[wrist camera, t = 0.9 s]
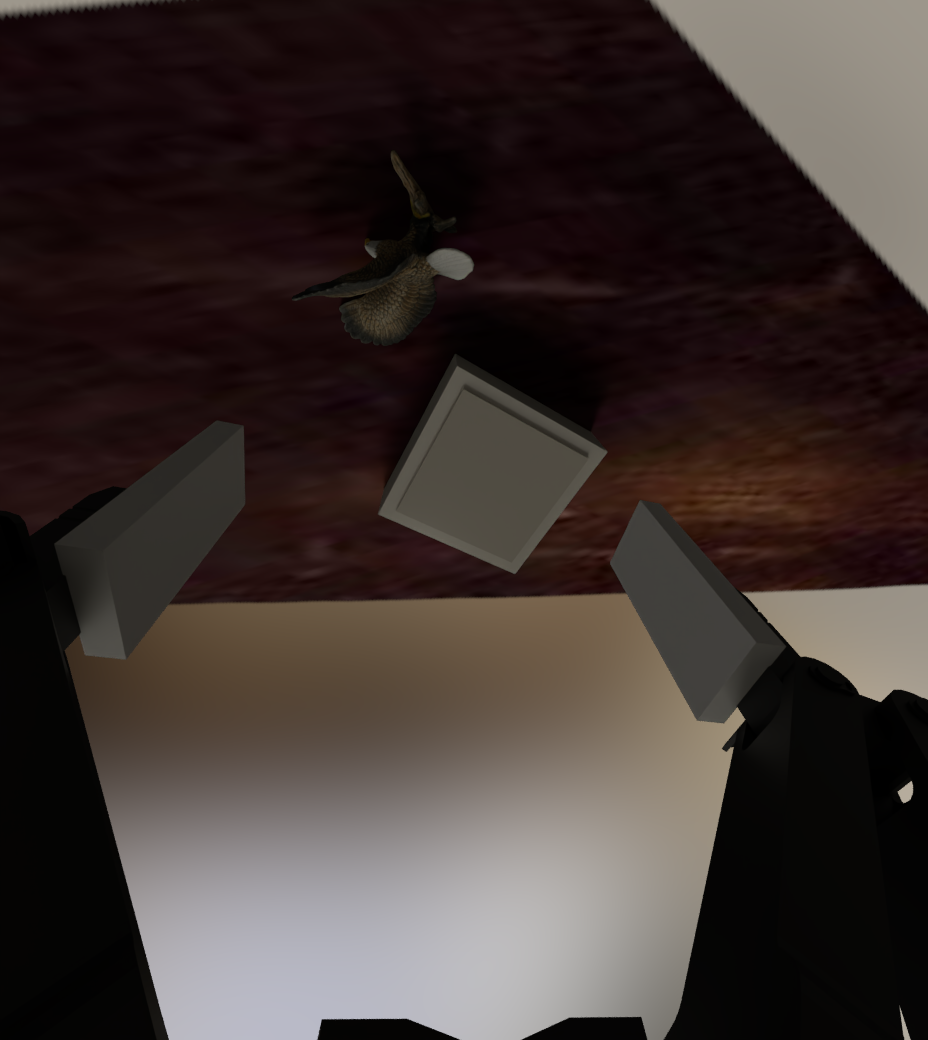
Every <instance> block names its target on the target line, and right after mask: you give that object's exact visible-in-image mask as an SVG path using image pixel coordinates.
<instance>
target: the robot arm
mask: <svg viewBox="0 0 928 1040" xmlns="http://www.w3.org/2000/svg"><path fill="white" fill-rule="evenodd" d="M244 505H245V474H244V428H243V426H242V425H237V424H232V423H226V422H221V421H216V422H214V423H213V424H212V425H210V426H209V427H208V428H206V429H205V430H204V431H202V432H201V433H200V434H198V435H197V436H196V437H194V438H193V439H192V440H191V441H189V442H188V443H187V444H185V445H184V446H183V447H181V448H180V449H179V450H177V451H176V452H175V453H173V454H172V455H171V456H169V457H168V458H167V459H165V460H164V461H163V462H162V463H160V464H159V465H158V466H156V467H155V468H154V469H152V470H151V471H150V472H148V473H147V474H146V475H144V476H143V477H142V478H140V479H139V480H138V481H137V482H135V483H134V484H133V485H131V486H130V487H129V488H127V489H126V488H120V487H114V486H113V487H110V488H107V489H105V490H102V491H99V492H96V493H93V494H91V495H89V496H87V497H86V498H84V499H83V500H81V501H80V502H79V503H77V504H76V505H74V506H73V509H68V510H67V511H66V512H64V513H63V514H61V515H60V516H59V519H54V520H53V521H51V522H50V523H48V524H47V525H45V526H44V527H43V528H41V529H40V530H38V531H37V532H35V533H34V534H33V535H31V536H30V537H29V533H28V530H27V527H26V524H25V522H24V520H23V519H22V518H21V517H20V516H19V515H16V514H13V513H10V512H7V511H0V1040H169V1038H168V1035H167V1032H166V1028H165V1025H164V1021H163V1017H162V1014H161V1010H160V1007H159V1003H158V999H157V996H156V992H155V988H154V984H153V980H152V976H151V973H150V969H149V965H148V962H147V958H146V954H145V950H144V946H143V943H142V939H141V935H140V931H139V928H138V924H137V920H136V916H135V912H134V909H133V905H132V901H131V898H130V894H129V890H128V886H127V882H126V879H125V875H124V871H123V867H122V864H121V860H120V856H119V852H118V848H117V845H116V841H115V837H114V834H113V830H112V826H111V822H110V818H109V814H108V811H107V807H106V803H105V799H104V796H103V792H102V788H101V784H100V781H99V777H98V773H97V769H96V765H95V762H94V758H93V754H92V750H91V747H90V743H89V739H88V735H87V732H86V728H85V724H84V720H83V717H82V713H81V709H80V705H79V702H78V698H77V694H76V690H75V687H74V683H73V679H72V675H71V671H70V667H69V664H68V660H67V657H66V654H65V649H66V648H67V647H68V646H69V645H70V644H71V643H72V642H73V641H74V639H75V638H76V637H77V636H78V635H80V639H81V643H82V646H83V649H84V653H85V655H89V656H98V657H108V658H117V659H127V658H128V656H129V655H130V654H131V653H132V651H133V650H134V649H135V647H136V646H137V645H138V643H139V642H140V641H141V639H142V638H143V637H144V636H145V634H146V633H147V632H148V630H149V629H150V628H151V626H152V625H153V624H154V623H155V621H156V620H157V619H158V617H159V616H160V615H161V613H162V612H163V611H164V609H165V608H166V607H167V606H168V604H169V603H170V602H171V600H172V599H173V598H174V596H175V595H176V594H177V593H178V591H179V590H180V589H181V587H182V586H183V585H184V583H185V582H186V581H187V579H188V578H189V577H190V576H191V574H192V573H193V572H194V570H195V569H196V568H197V566H198V565H199V564H200V562H201V561H202V560H203V559H204V557H205V556H206V555H207V553H208V552H209V551H210V549H211V548H212V547H213V546H214V544H215V543H216V542H217V540H218V539H219V538H220V536H221V535H222V534H223V532H224V531H225V530H226V529H227V527H228V526H229V525H230V523H231V522H232V521H233V519H234V518H235V517H236V516H237V514H238V513H239V512H240V510H241V509H242V508H243V506H244ZM610 564H611V566H612V568H613V570H614V571H615V573H616V575H617V577H618V579H619V580H620V582H621V584H622V586H623V588H624V589H625V591H626V593H627V595H628V597H629V599H630V600H631V602H632V604H633V606H634V608H635V609H636V611H637V613H638V615H639V616H640V618H641V620H642V622H643V624H644V626H645V627H646V629H647V631H648V633H649V634H650V636H651V638H652V640H653V642H654V644H655V645H656V647H657V649H658V651H659V653H660V654H661V656H662V658H663V660H664V662H665V663H666V665H667V667H668V669H669V671H670V672H671V674H672V676H673V678H674V680H675V682H676V683H677V685H678V687H679V689H680V690H681V692H682V694H683V696H684V698H685V700H686V701H687V703H688V705H689V707H690V709H691V710H692V712H693V714H694V716H695V718H696V719H697V720H698V721H707V722H717V723H724V722H725V721H726V720H727V719H728V718H729V717H730V715H731V714H732V713H733V712H734V710H735V709H736V708H737V707H738V708H739V710H740V712H741V713H742V715H743V716H744V718H745V719H746V720H745V721H744V722H743V724H742V725H741V726H740V727H739V728H738V729H737V731H736V732H735V733H734V734H733V735H732V737H731V738H730V739H729V740H728V741H727V742H726V744H725V745H724V746H723V748H722V749H723V750H725V751H726V752H727V751H728V749H729V748H730V747H734V749H733V754H732V759H731V764H730V769H729V774H728V779H727V783H726V788H725V793H724V798H723V802H722V807H721V812H720V817H719V822H718V827H717V831H716V837H715V841H714V846H713V851H712V856H711V861H710V865H709V871H708V875H707V880H706V885H705V890H704V894H703V899H702V904H701V909H700V914H699V918H698V923H697V928H696V933H695V938H694V943H693V948H692V952H691V957H690V962H689V967H688V972H687V976H686V981H685V987H684V991H683V996H682V1001H681V1004H680V1008H679V1012H678V1014H677V1016H676V1019H675V1021H674V1023H673V1025H672V1027H671V1028H670V1030H669V1032H668V1033H667V1035H666V1037H665V1039H664V1040H904V1036H903V1030H902V1022H901V1015H900V1008H901V1011H902V1014H903V1017H904V1021H905V1023H906V1027H907V1029H908V1033H909V1036H910V1039H911V1040H928V700H927V699H925V698H921V697H919V696H917V695H915V694H913V693H910V692H907V691H903V690H893V691H892V692H891V693H890V694H889V695H888V696H887V697H886V698H885V699H884V700H883V701H882V702H878V701H875V700H873V699H870V698H867V697H865V696H862V695H859V693H858V691H857V689H856V688H855V687H854V685H853V684H852V683H851V682H850V681H849V680H848V679H847V678H846V677H844V676H843V675H842V674H841V673H840V672H839V671H837V670H835V669H834V668H832V667H831V666H829V665H827V664H825V663H823V662H821V661H819V660H816V659H814V658H809V657H800V656H799V655H798V654H797V653H796V651H795V650H794V649H793V648H792V647H791V646H790V645H789V644H788V642H787V641H786V640H785V639H784V638H783V637H782V636H781V635H780V633H779V632H778V631H777V630H776V629H775V628H774V627H773V626H772V625H771V624H770V623H768V622H767V619H766V618H765V617H764V616H763V614H762V613H761V612H758V609H757V608H756V607H755V606H754V604H753V603H752V602H751V601H750V600H749V599H748V598H747V597H746V596H745V595H744V594H742V593H741V592H740V591H738V590H737V589H736V588H734V587H733V586H732V585H731V583H730V582H729V581H728V580H727V579H726V578H725V577H724V576H723V574H722V573H721V572H720V571H719V570H718V569H717V568H716V567H715V565H714V564H713V563H712V562H711V561H710V560H709V559H708V557H707V556H706V555H705V554H704V553H703V552H702V551H701V550H700V548H699V547H698V546H697V545H696V544H695V543H694V542H693V541H692V539H691V538H690V537H689V536H688V535H687V534H686V533H685V531H684V530H683V529H682V528H681V527H680V526H679V525H678V524H677V522H676V521H675V520H674V519H673V518H672V517H671V516H670V514H669V513H668V512H667V511H666V510H665V509H664V508H663V507H662V505H661V504H658V503H653V502H648V501H642V500H640V501H639V503H638V505H637V508H636V510H635V512H634V514H633V516H632V518H631V520H630V522H629V524H628V526H627V529H626V531H625V533H624V535H623V537H622V539H621V541H620V543H619V545H618V547H617V550H616V552H615V554H614V556H613V558H612V560H611V562H610ZM910 781H912V783H913V795H912V797H911V800H909V801H908V802H906V803H903V802H902V801H901V799H900V797H899V794H898V791H899V790H900V789H902V788H903V787H904V786H905V785H907V784H908V783H909V782H910ZM899 1005H900V1006H899ZM318 1040H459V1039H457V1038H454V1037H452V1036H449V1035H447V1034H444V1033H442V1032H439V1031H437V1030H434V1029H432V1028H429V1027H426V1026H424V1025H421V1024H419V1023H416V1022H413V1021H411V1020H409V1019H322V1021H321V1026H320V1030H319V1035H318ZM522 1040H647V1037H646V1033H645V1029H644V1025H643V1022H642V1018H641V1017H590V1018H589V1017H588V1018H586V1017H585V1018H568V1019H566V1020H563V1021H561V1022H559V1023H557V1024H555V1025H552V1026H550V1027H548V1028H546V1029H544V1030H541V1031H539V1032H537V1033H535V1034H533V1035H531V1036H529V1037H526V1038H524V1039H522Z"/></svg>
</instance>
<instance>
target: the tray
mask: <svg viewBox="0 0 928 1040" xmlns="http://www.w3.org/2000/svg"><path fill="white" fill-rule="evenodd" d="M606 453H607V450H606V449H605V448H604V447H603V446H602V445H601V443H600V442H599V441H598V440H597V439H596V438H595V436H594V435H593V434H592V433H591V432H590V431H588V430H586V429H585V428H583V427H581V426H579V425H578V424H576V423H574V422H573V421H571V420H569V419H567V418H566V417H564V416H562V415H560V414H559V413H557V412H555V411H554V410H552V409H550V408H548V407H547V406H545V405H543V404H541V403H540V402H538V401H536V400H535V399H533V398H531V397H529V396H528V395H526V394H524V393H522V392H521V391H519V390H517V389H516V388H514V387H512V386H510V385H509V384H507V383H505V382H503V381H502V380H500V379H498V378H497V377H495V376H493V375H491V374H490V373H488V372H486V371H484V370H483V369H481V368H479V367H478V366H476V365H474V364H472V363H471V362H469V361H467V360H465V359H464V358H462V357H460V356H459V355H457V354H455V355H454V357H453V359H452V361H451V362H450V364H449V366H448V368H447V370H446V372H445V374H444V376H443V378H442V380H441V381H440V383H439V385H438V387H437V389H436V391H435V393H434V395H433V397H432V399H431V400H430V402H429V404H428V406H427V408H426V410H425V412H424V414H423V416H422V418H421V420H420V421H419V423H418V425H417V427H416V429H415V431H414V433H413V435H412V437H411V439H410V440H409V442H408V444H407V446H406V448H405V450H404V452H403V454H402V456H401V458H400V460H399V461H398V463H397V465H396V467H395V469H394V471H393V473H392V475H391V477H390V479H389V480H388V482H387V484H386V486H385V488H384V491H383V495H382V499H381V504H380V508H379V512H378V514H379V515H381V516H383V517H386V518H388V519H390V520H393V521H395V522H397V523H399V524H402V525H404V526H406V527H409V528H411V529H413V530H415V531H418V532H420V533H422V534H425V535H427V536H429V537H431V538H434V539H436V540H438V541H441V542H443V543H445V544H448V545H450V546H452V547H454V548H457V549H459V550H461V551H464V552H466V553H468V554H470V555H473V556H475V557H477V558H480V559H482V560H484V561H486V562H489V563H491V564H493V565H496V566H498V567H500V568H502V569H505V570H507V571H509V572H512V573H514V574H515V573H516V572H517V571H518V569H519V568H520V567H521V565H522V564H523V563H524V561H525V560H526V559H527V557H528V556H529V555H530V553H531V552H532V551H533V550H534V548H535V547H536V546H537V544H538V543H539V542H540V540H541V539H542V538H543V536H544V535H545V534H546V532H547V531H548V530H549V528H550V527H551V526H552V524H553V523H554V522H555V521H556V519H557V518H558V517H559V515H560V514H561V513H562V511H563V510H564V509H565V507H566V506H567V505H568V503H569V502H570V501H571V499H572V498H573V497H574V496H575V494H576V493H577V492H578V490H579V489H580V488H581V486H582V485H583V484H584V482H585V481H586V480H587V478H588V477H589V476H590V474H591V473H592V472H593V470H594V469H595V468H596V467H597V465H598V464H599V463H600V461H601V460H602V459H603V457H604V456H605V455H606Z"/></svg>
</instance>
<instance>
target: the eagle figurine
mask: <svg viewBox="0 0 928 1040" xmlns="http://www.w3.org/2000/svg"><path fill="white" fill-rule="evenodd" d="M391 160H392V163H393V167H394V169H395V171H396V172H397V174H398V175H399V177H400V178H401V180H402V182H403V185H404V186H405V187H406V188H407V190H408V192H409V196H410V202H411V208H412V211H413V216H412V218H411V220H410V230H409V231H408V233H407V234H406V236H405V237H404V238H403V239H402V240H400V241H396V240H388V239H387V240H381V241H370V239H369V238H366V240H365V249H366V250H367V251H368V253H369V254H370V255H371V256H372V257H374V258H375V259H374V260H372V261H371V262H370V263H369V264H368V265H366V266H365V267H363V268H361V269H359V270H357V271H354V272H350V273H348V274H345V275H342V276H340V277H339V278H337V279H335V280H333V281H331V282H326V283H322V284H318V285H314V286H312V287H309V288H307V289H306V290H305V291H304V292H301V293H299V294H298V295H295V296H293V297H292V300H300V299H303V298H306V297H311V296H320V295H323V296H328V297H352V296H356V295H361V294H364V293H367V294H365V295H364V296H363V297H361V298H358V299H355V300H351V301H350V302H347V303H344V304H343V305H342V306H340V308H339V309H340V311H341V312H342V316H341V320H342V321H343V322H344V323H346V324H345V331H346V332H350V334H351V337H352V338H354V339H361V342H362V343H369V342H371V341H373V343H374V344H375V345H379V344H382V345H384V346H387V345H392V344H393V343H398V342H400V340H404V339H405V338H406V335H409V334H410V333H411V332H412V331H413V329H414V327H416V326H417V325H418V324H419V323H420V322H421V321H422V318H425V317H426V316H427V315H428V314H429V313H430V312H431V309H432V308H433V305H434V302H435V301H436V294H437V293H436V292H435V291H434V289H435V285H434V284H432V283H433V282H434V278H433V276H435V275H436V274H439V275H443V276H447V277H450V278H453V279H456V280H461V279H464V278H465V277H466V276H467V275H468V274H469V273H470V272H472V271H473V266H474V263H473V261H472V259H471V257H470V256H469V255H467V254H465V253H464V252H462V251H459V250H458V249H453V248H441V249H437V250H435V251H434V252H432V253H431V254H429V250H430V245H431V244H432V242H433V240H432V237H433V233H432V232H434V231H438V232H442V231H443V230H445V231H447V232H449V233H456V232H457V230H456V228H455V227H454V226H453V225H454V224H455V223H456V217H451V218H449V219H446V220H443V219H441V218H440V217H439V216H437V215H435V214H434V212H433V210H432V208H431V207H430V205H429V203H428V201H427V199H426V195H425V193H424V192H423V191H422V190H421V188H420V187H419V185H418V184H417V183H416V181H415V180H414V178H413V177H412V176H411V174H410V173H409V171H408V170H407V169H406V167H405V165H404V164H403V162H402V160H401V159H400V157H399V155H398V154H397V153H396V151H395V150H392V151H391Z"/></svg>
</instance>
